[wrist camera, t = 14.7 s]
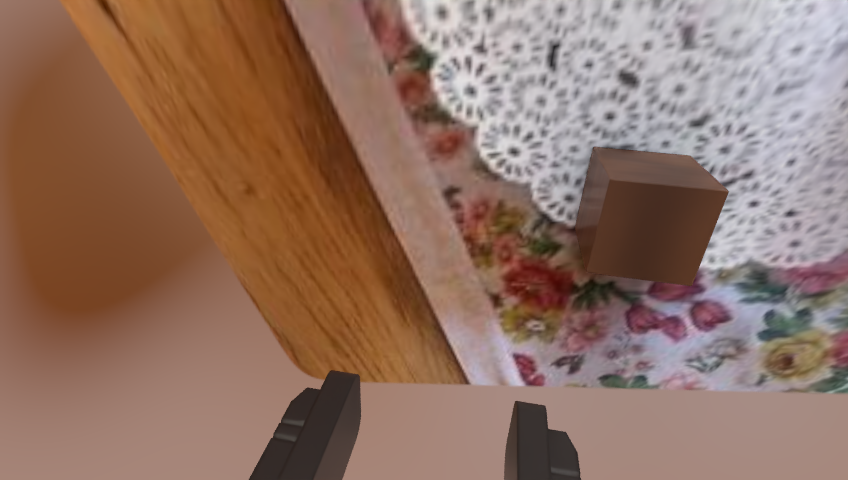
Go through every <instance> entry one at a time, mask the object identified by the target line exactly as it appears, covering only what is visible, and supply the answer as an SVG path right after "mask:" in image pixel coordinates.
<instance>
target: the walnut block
mask: <svg viewBox="0 0 848 480" xmlns="http://www.w3.org/2000/svg"><path fill="white" fill-rule="evenodd" d="M728 192H729V191H728V190H727V189H726V188H725V187H724V186H723V185H722V184H721V183H719V182H718V181H717V180H716V179H715V178H714V177H713V176H712V175H711V174H710V173H709V172H708V171H706V170H705V169H704V168H703V167H702V166H701V165H700V164H699V163H698V162H697V161H696V160H695V159H694V158H692V157H691V156H688V155H677V154H666V153H655V152H645V151H634V150H623V149H613V148H602V147H593V151H592V155H591V159H590V164H589V168H588V172H587V177H586V181H585V185H584V190H583V194H582V199H581V203H580V207H579V212H578V216H577V220H576V225H575V231H576V235H577V239H578V243H579V246H580V250H581V254H582V258H583V262H584V266H585V270H586V272H587V273H593V274H600V275H608V276H616V277H624V278H632V279H640V280H648V281H656V282H663V283H671V284H679V285H687V286H692V284H693V281H694V279H695V276H696V274H697V271H698V269H699V266H700V264H701V261H702V258H703V256H704V253H705V251H706V248H707V246H708V243H709V241H710V238H711V236H712V233H713V230H714V228H715V225H716V223H717V220H718V218H719V215H720V213H721V210H722V207H723V205H724V202H725V200H726V197H727V195H728Z"/></svg>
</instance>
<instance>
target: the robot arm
mask: <svg viewBox="0 0 848 480" xmlns="http://www.w3.org/2000/svg"><path fill="white" fill-rule="evenodd" d="M360 402H361V401H360V376H359V375H358V374H352V373H346V372H340V371H334V370H331V371H330V372H329V373H328V375H327V377H326V379H325V381H324V383H323V385H322V387H321V389H320V390H319V389H313V388H306V389H305V390H304V391H303V392H302V393H300V394H299V395H298V396H297V397H296V398H295V399H294V400H292V401H291V403H290V405H289V407H288V408H287V410H286V412H285V414H284V416H283V418H282V420H281V423H279V425H278V427H277V429H276V430H275V432H274V436H273V438H271V440H270V441H269V443H268V445H267V447H266V449H265V451H264V452H263V454H262V456H261V458H260V460H259V462H258V463H257V465H256V467H255V469H254V471H253V473H252V475H251V476H250V479H249V480H342V478H343V476H344V473H345V470H346V467H347V464H348V461H349V458H350V456H351V453H352V450H353V447H354V444H355V441H356V438H357V435H358V431H359V426H360V419H361V403H360ZM504 480H581V478H580V468H579V461H578V454H577V451H576V449H575V448H574V446H573V444H572V442H571V440H570V439H569V437H568V435H567V433H566V432H562V431H556V430H550V429H548V425H547V412H546V407H545V406H544V405H538V404H532V403H525V402H520V401H515V404H514V408H513V414H512V418H511V423H510V428H509V433H508V438H507V444H506V453H505V471H504Z"/></svg>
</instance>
